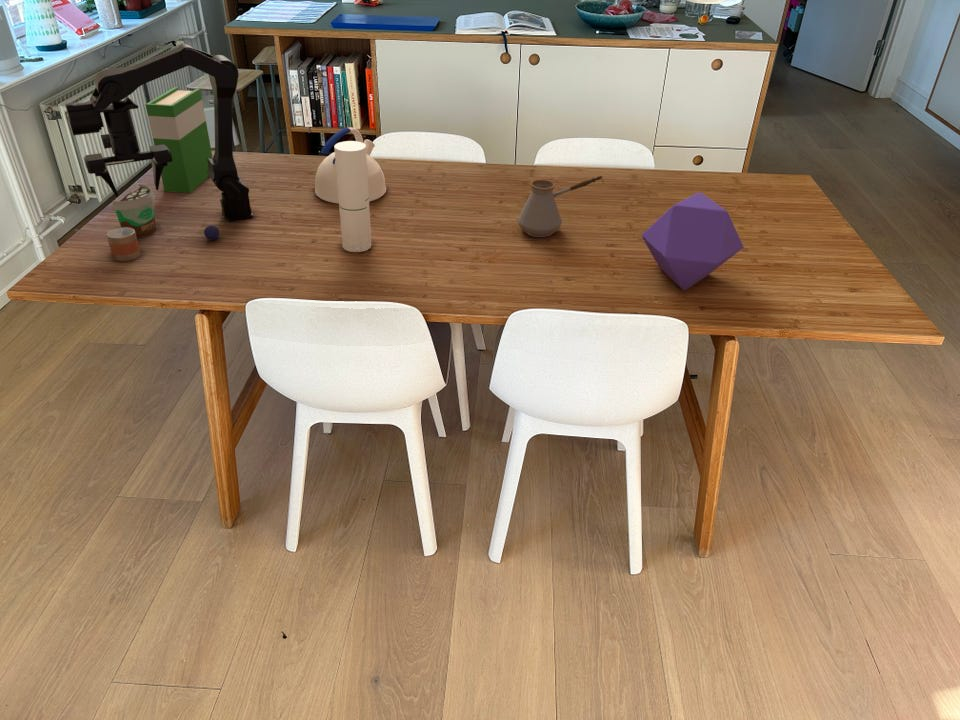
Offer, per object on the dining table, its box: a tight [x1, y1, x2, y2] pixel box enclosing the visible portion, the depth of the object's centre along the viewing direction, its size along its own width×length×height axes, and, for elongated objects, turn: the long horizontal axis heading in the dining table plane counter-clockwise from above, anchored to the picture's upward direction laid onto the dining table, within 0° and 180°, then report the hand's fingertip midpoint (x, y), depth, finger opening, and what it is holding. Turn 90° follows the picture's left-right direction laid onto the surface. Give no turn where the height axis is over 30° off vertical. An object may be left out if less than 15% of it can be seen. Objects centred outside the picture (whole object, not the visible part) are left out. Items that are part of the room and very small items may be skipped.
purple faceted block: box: [641, 191, 744, 291], centre depth 170 cm, size 22×20×20 cm
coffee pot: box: [517, 175, 605, 238], centre depth 190 cm, size 21×12×15 cm, turn 94°
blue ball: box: [203, 225, 220, 241], centre depth 183 cm, size 4×4×4 cm
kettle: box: [314, 127, 387, 205], centre depth 208 cm, size 20×21×18 cm
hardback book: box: [144, 86, 213, 194], centre depth 209 cm, size 18×7×24 cm, turn 174°
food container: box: [111, 183, 157, 239], centre depth 184 cm, size 12×6×10 cm, turn 168°
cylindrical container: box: [333, 140, 372, 253], centre depth 177 cm, size 7×7×25 cm
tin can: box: [106, 226, 141, 262], centre depth 174 cm, size 6×6×6 cm
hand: (137, 192), depth 181 cm, fingers open, 9 cm apart
